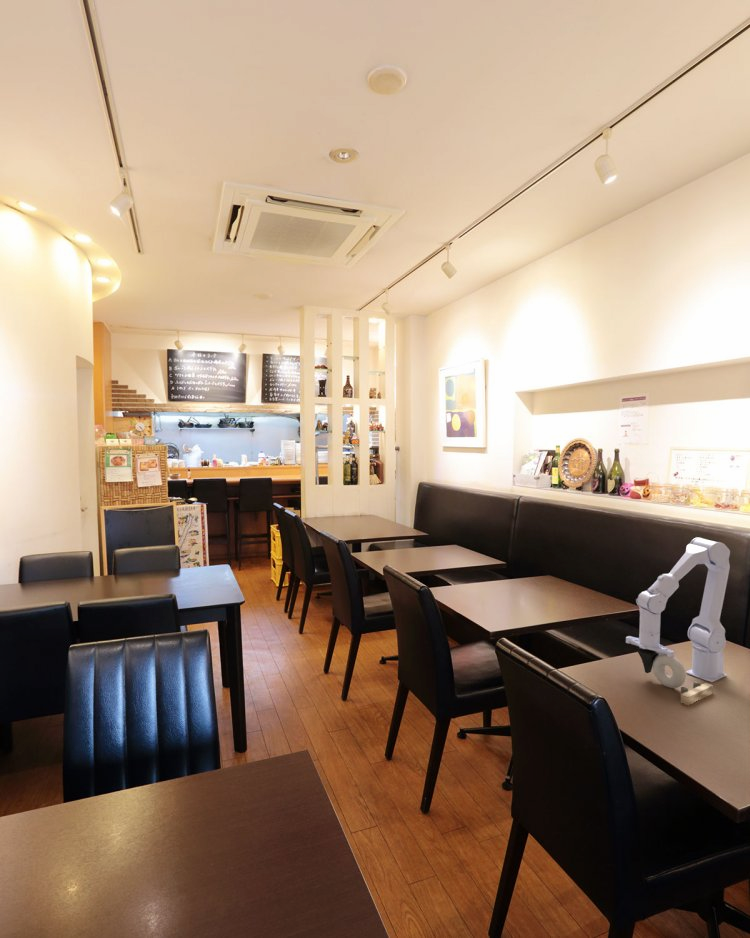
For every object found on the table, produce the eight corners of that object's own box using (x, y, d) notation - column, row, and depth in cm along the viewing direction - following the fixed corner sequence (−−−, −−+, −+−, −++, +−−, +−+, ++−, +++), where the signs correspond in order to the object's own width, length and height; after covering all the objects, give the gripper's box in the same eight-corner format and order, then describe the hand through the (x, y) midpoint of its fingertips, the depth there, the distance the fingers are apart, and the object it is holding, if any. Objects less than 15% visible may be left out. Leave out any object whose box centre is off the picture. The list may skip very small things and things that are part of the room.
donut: (687, 692, 156) (689, 660, 156) (680, 695, 155) (682, 662, 154) (656, 678, 165) (657, 648, 165) (649, 680, 164) (650, 649, 163)
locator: (699, 688, 159) (699, 678, 159) (712, 693, 156) (713, 683, 156) (674, 700, 152) (674, 690, 151) (687, 705, 148) (688, 695, 148)
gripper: (620, 625, 169) (619, 666, 169) (665, 640, 156) (663, 684, 157) (633, 621, 172) (632, 661, 173) (678, 635, 160) (676, 678, 161)
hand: (648, 672), depth 165 cm, fingers closed
